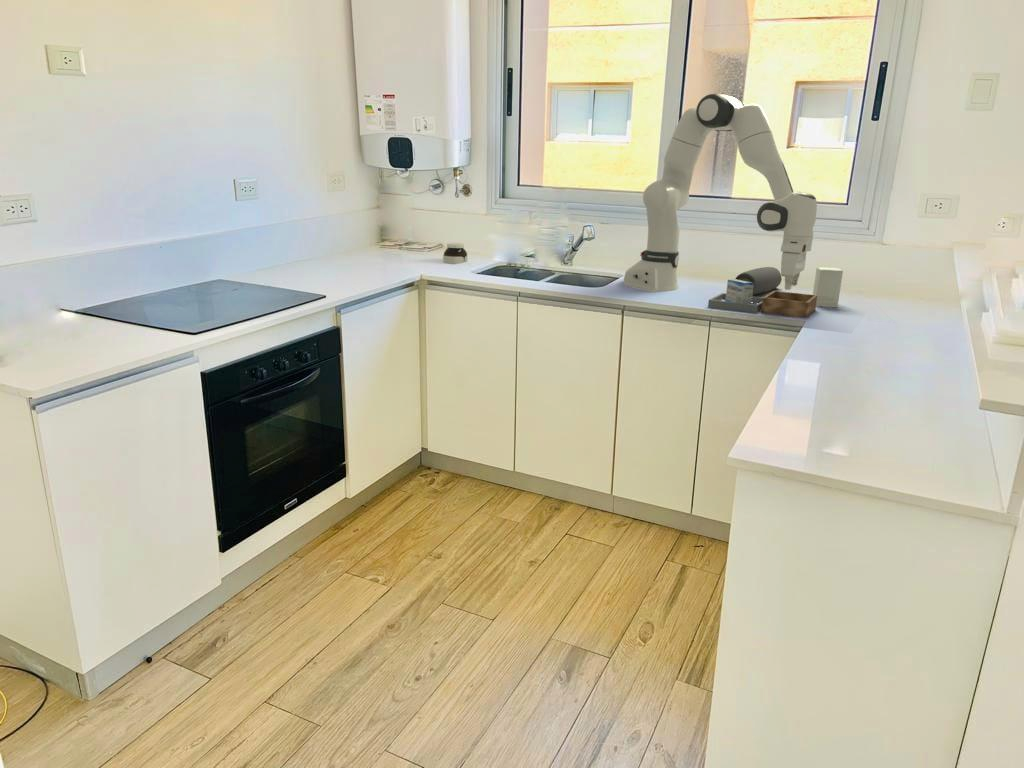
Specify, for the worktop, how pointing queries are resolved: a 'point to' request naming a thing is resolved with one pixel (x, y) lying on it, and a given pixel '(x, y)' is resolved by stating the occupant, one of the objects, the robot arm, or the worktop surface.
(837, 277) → the supplement box
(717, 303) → the tray
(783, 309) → the walnut crate
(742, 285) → the medicine box
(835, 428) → the worktop surface
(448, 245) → the spread jar
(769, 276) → the bluetooth speaker
